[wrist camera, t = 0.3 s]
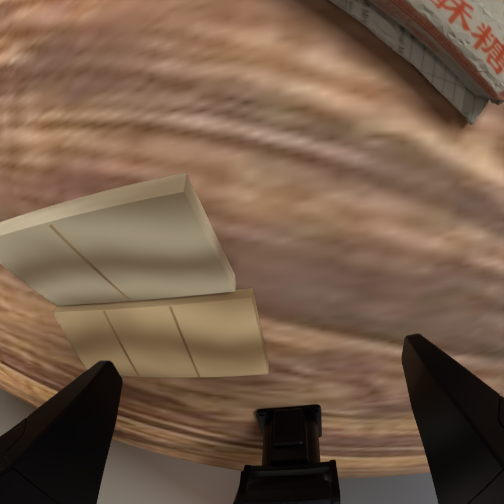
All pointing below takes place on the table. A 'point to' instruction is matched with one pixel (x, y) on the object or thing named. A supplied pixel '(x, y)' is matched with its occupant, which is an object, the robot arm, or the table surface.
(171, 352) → the laid board
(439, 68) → the packaged product
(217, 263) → the beige grooved panel
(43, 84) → the table surface
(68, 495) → the robot arm
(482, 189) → the table surface
